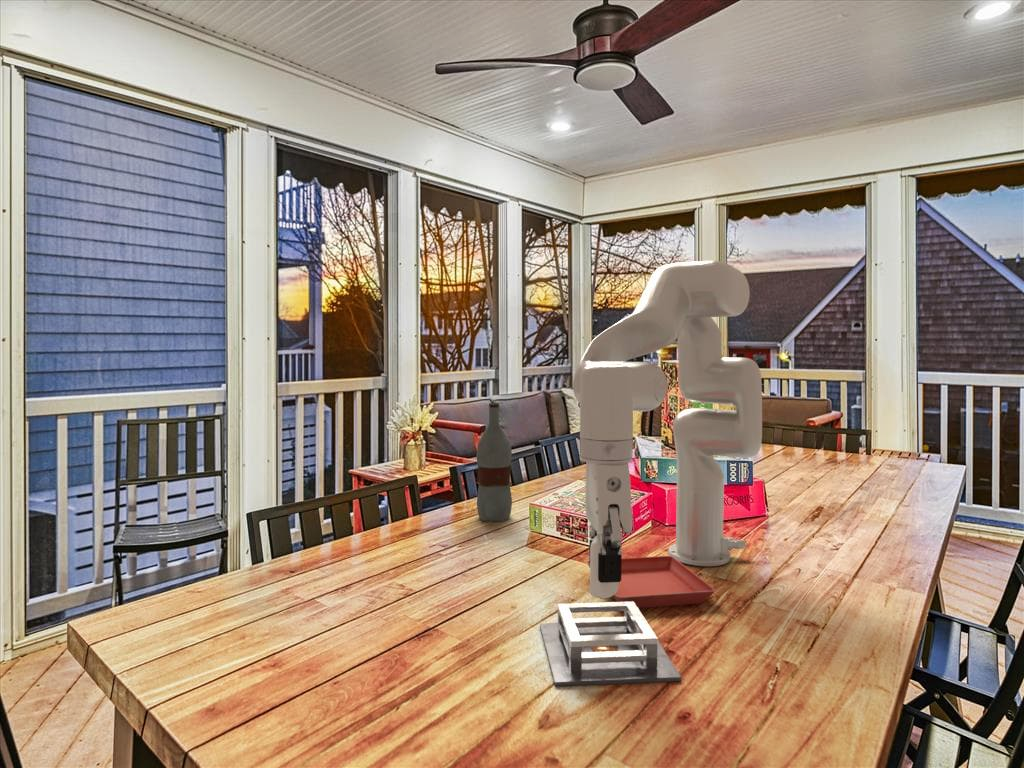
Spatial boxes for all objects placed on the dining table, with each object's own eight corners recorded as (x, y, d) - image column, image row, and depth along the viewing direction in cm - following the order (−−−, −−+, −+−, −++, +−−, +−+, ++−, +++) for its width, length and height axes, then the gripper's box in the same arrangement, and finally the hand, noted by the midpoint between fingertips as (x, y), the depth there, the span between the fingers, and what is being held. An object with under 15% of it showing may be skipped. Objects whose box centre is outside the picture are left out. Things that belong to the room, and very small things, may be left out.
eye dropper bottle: (580, 590, 89) (580, 509, 88) (611, 583, 92) (611, 505, 91) (597, 601, 85) (598, 517, 85) (629, 593, 88) (630, 512, 87)
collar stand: (644, 623, 98) (644, 594, 98) (681, 681, 81) (681, 646, 81) (539, 627, 97) (539, 597, 97) (555, 686, 80) (555, 651, 80)
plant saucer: (671, 570, 122) (671, 554, 122) (717, 608, 105) (717, 589, 105) (585, 576, 119) (585, 560, 119) (617, 617, 101) (617, 597, 101)
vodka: (496, 510, 165) (496, 400, 163) (519, 517, 159) (519, 403, 157) (469, 517, 159) (468, 403, 157) (492, 524, 152) (491, 405, 150)
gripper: (649, 460, 79) (647, 596, 80) (617, 440, 96) (615, 553, 97) (592, 461, 78) (591, 598, 79) (570, 441, 95) (569, 554, 97)
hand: (604, 572), depth 88 cm, fingers closed on eye dropper bottle, 5 cm apart
